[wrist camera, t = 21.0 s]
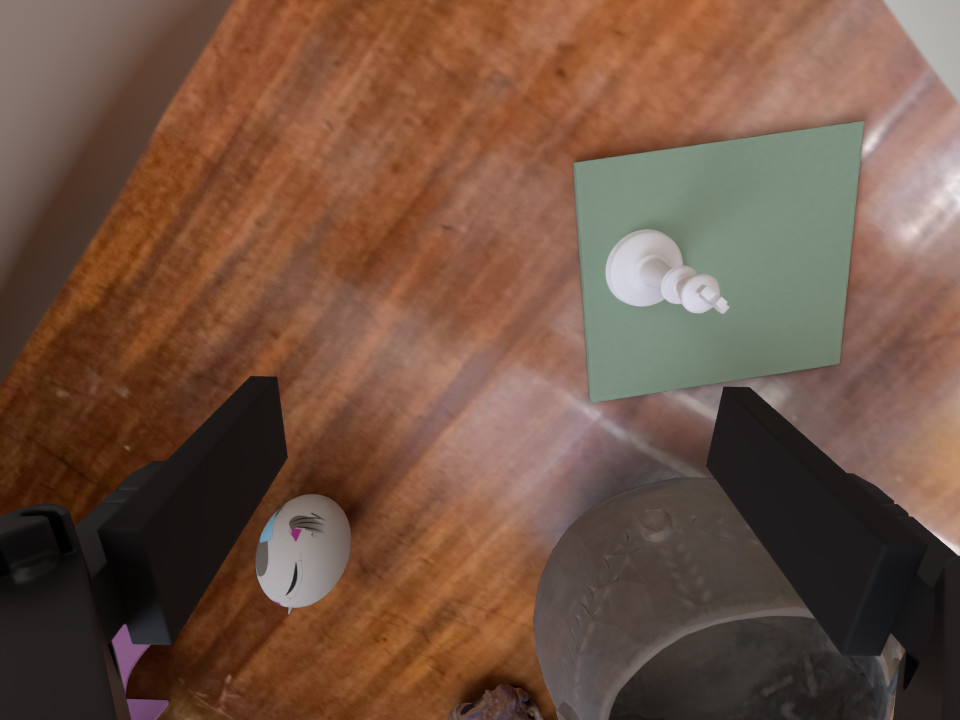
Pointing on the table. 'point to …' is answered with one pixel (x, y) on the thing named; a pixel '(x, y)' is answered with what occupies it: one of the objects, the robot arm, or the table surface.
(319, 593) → the figurine
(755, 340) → the mat
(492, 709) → the purple rounded piece
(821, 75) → the table surface
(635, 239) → the chess piece
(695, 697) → the clay pot
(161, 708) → the toy chair
